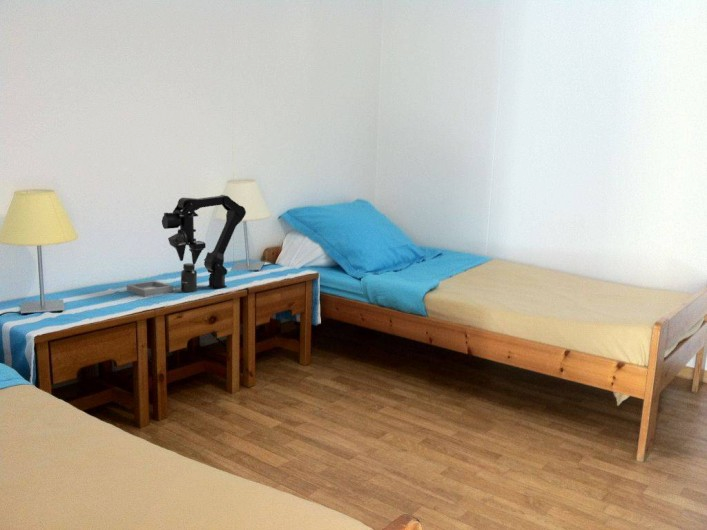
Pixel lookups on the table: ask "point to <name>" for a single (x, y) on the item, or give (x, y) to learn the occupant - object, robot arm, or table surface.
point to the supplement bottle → (188, 278)
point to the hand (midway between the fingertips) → (187, 262)
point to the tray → (149, 288)
